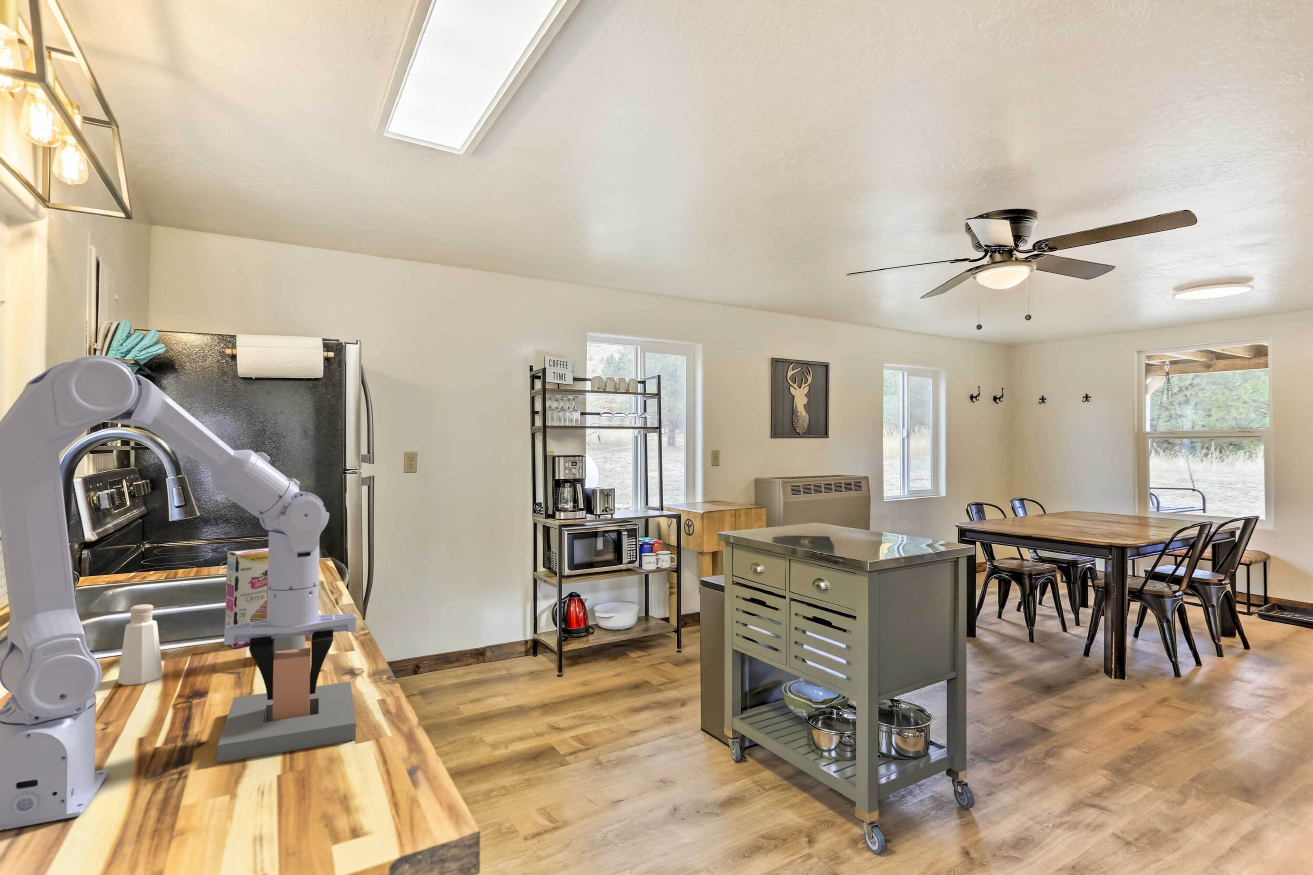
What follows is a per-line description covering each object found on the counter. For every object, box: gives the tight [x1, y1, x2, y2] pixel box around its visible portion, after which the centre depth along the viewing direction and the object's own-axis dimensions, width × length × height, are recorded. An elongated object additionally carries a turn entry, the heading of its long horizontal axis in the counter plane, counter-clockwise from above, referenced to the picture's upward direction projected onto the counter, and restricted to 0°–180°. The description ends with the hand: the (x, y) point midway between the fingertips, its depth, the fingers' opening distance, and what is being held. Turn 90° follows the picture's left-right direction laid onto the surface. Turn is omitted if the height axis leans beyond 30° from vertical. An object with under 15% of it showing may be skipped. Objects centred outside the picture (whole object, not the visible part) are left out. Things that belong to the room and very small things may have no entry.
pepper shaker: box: [117, 603, 164, 686], centre depth 102 cm, size 5×5×11 cm
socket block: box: [217, 681, 357, 764], centre depth 86 cm, size 16×14×2 cm
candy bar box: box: [224, 547, 269, 649], centre depth 123 cm, size 11×5×16 cm, turn 141°
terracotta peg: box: [272, 647, 311, 721], centre depth 86 cm, size 4×4×8 cm
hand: (292, 694), depth 86 cm, fingers closed on terracotta peg, 4 cm apart
